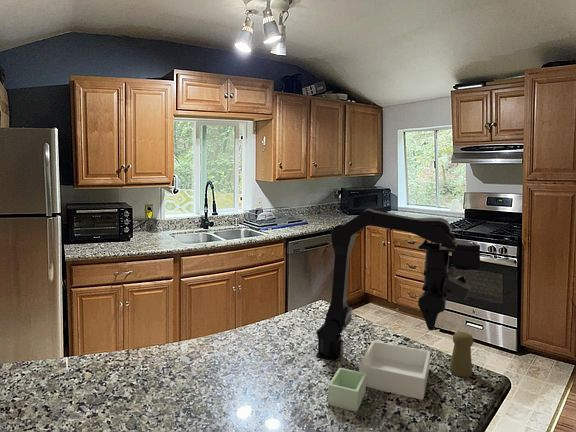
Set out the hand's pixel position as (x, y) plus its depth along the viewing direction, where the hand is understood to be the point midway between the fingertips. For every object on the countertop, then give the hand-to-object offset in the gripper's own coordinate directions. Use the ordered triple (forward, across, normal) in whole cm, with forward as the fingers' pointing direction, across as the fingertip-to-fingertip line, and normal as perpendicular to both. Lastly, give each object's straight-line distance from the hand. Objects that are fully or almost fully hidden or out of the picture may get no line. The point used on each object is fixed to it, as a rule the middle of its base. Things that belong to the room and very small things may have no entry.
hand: (432, 323), depth 112 cm
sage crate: (+15, -20, +17) cm, 30 cm away
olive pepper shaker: (+15, +6, -8) cm, 18 cm away
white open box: (+15, -5, +8) cm, 17 cm away
